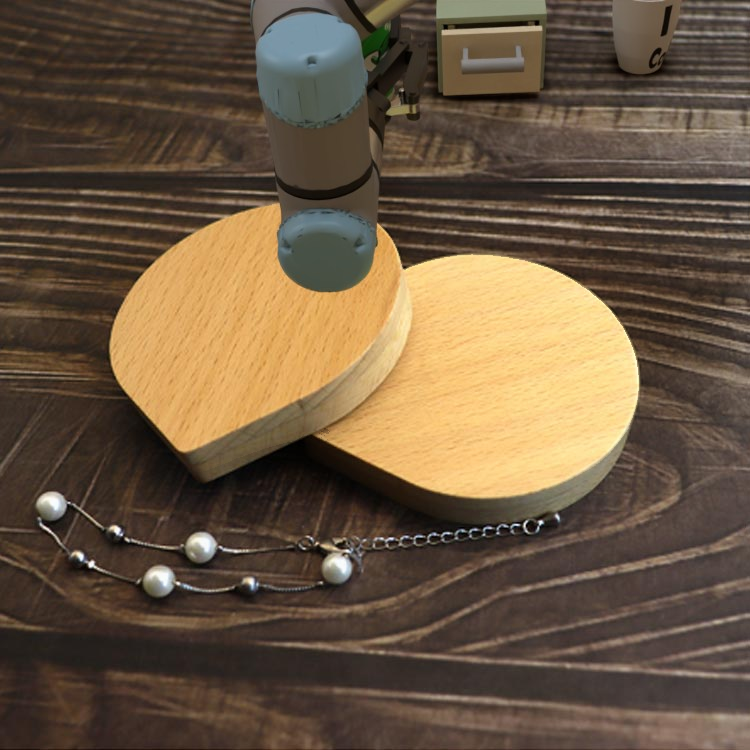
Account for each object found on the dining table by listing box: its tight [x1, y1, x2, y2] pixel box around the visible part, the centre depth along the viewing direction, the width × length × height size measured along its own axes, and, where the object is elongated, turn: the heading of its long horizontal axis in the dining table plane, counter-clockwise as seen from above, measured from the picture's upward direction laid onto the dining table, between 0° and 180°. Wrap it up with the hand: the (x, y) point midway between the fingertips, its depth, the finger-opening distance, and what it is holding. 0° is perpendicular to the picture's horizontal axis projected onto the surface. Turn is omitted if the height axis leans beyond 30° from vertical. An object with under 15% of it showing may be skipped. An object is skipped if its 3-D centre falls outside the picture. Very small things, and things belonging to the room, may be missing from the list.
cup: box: [611, 0, 683, 75], centre depth 121 cm, size 8×8×10 cm
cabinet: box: [435, 0, 548, 93], centre depth 125 cm, size 15×13×10 cm
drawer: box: [442, 20, 542, 96], centre depth 121 cm, size 18×11×8 cm, turn 177°
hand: (356, 20), depth 103 cm, fingers closed on soda can, 7 cm apart
